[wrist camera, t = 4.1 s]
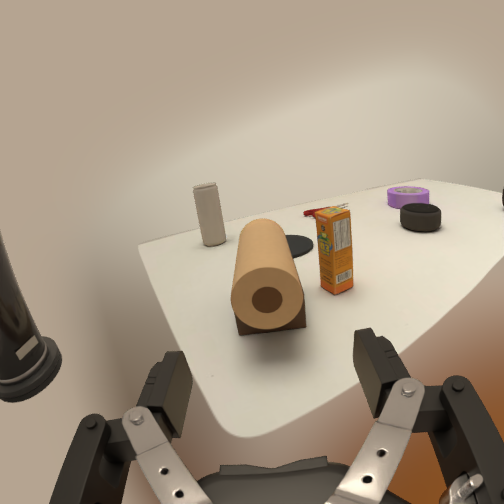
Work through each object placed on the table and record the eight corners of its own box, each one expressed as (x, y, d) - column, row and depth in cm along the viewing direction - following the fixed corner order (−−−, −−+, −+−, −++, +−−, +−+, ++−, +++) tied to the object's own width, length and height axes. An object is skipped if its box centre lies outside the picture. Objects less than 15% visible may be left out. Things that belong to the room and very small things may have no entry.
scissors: (302, 215, 70) (301, 211, 69) (340, 204, 76) (340, 200, 75) (317, 218, 65) (317, 214, 65) (355, 206, 71) (355, 202, 71)
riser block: (238, 335, 30) (232, 303, 28) (242, 293, 38) (237, 265, 37) (306, 327, 29) (304, 294, 28) (295, 287, 38) (293, 258, 36)
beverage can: (201, 242, 61) (190, 186, 57) (223, 236, 63) (213, 181, 59) (206, 248, 57) (194, 188, 53) (229, 242, 58) (219, 183, 54)
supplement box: (317, 286, 37) (312, 210, 33) (338, 278, 38) (335, 204, 34) (333, 296, 34) (330, 215, 30) (354, 287, 35) (353, 209, 32)
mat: (250, 264, 47) (250, 261, 47) (251, 241, 57) (250, 239, 57) (318, 255, 46) (318, 252, 46) (307, 234, 57) (307, 232, 56)
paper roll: (236, 333, 24) (225, 271, 22) (242, 264, 37) (236, 221, 35) (304, 325, 23) (301, 263, 21) (287, 259, 36) (283, 215, 34)
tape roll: (394, 210, 64) (393, 195, 63) (383, 200, 75) (382, 186, 74) (435, 208, 62) (435, 193, 60) (420, 199, 72) (420, 185, 71)
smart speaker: (432, 219, 55) (432, 201, 53) (446, 232, 47) (448, 212, 45) (395, 220, 57) (395, 202, 56) (406, 234, 49) (407, 213, 48)
